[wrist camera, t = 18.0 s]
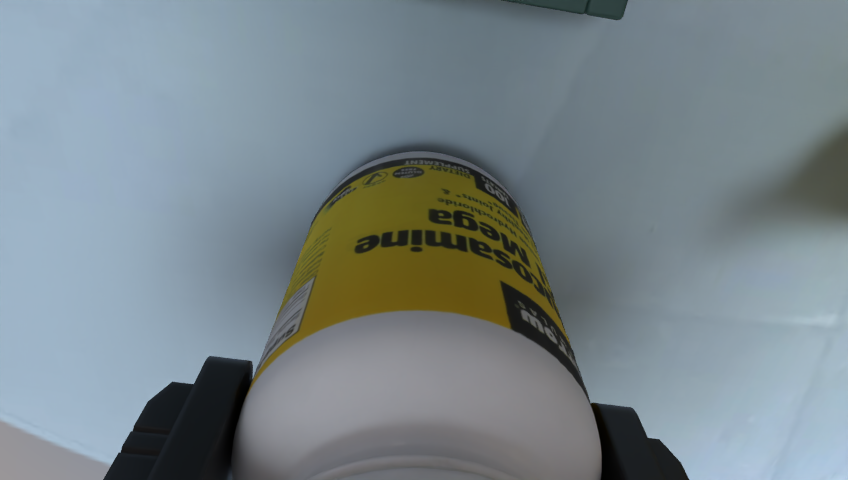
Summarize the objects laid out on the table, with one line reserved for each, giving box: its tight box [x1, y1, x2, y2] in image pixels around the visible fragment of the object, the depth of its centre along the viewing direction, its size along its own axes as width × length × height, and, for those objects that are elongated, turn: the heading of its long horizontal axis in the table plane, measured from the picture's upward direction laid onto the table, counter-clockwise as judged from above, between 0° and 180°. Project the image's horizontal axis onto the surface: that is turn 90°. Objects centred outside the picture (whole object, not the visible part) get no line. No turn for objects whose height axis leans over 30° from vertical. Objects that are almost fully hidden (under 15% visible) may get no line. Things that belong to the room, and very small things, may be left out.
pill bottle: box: [231, 151, 602, 480], centre depth 12 cm, size 6×6×11 cm
